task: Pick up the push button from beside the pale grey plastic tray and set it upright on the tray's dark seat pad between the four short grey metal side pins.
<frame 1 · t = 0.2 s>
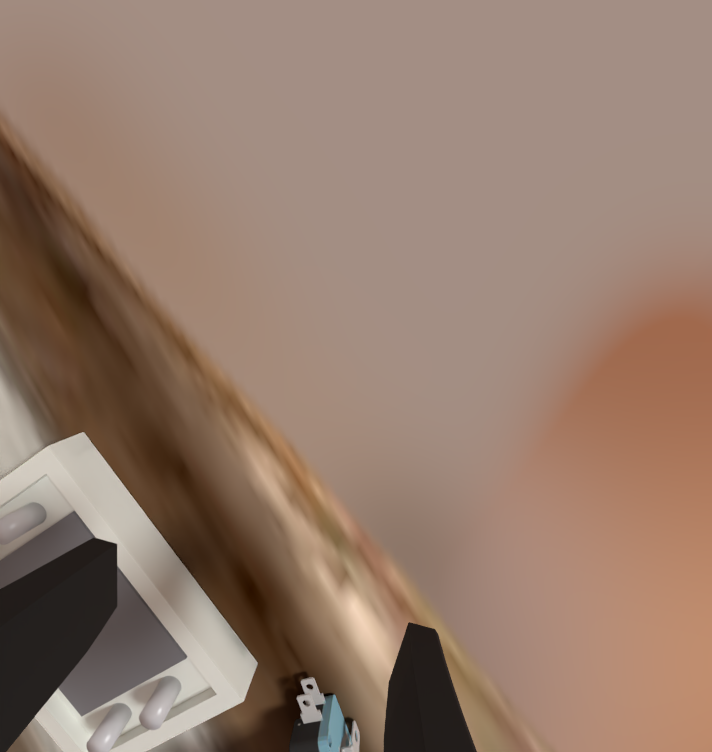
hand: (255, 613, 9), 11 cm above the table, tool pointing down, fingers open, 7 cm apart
push button: (329, 715, 23), on the table
pin tray: (100, 596, 22), on the table
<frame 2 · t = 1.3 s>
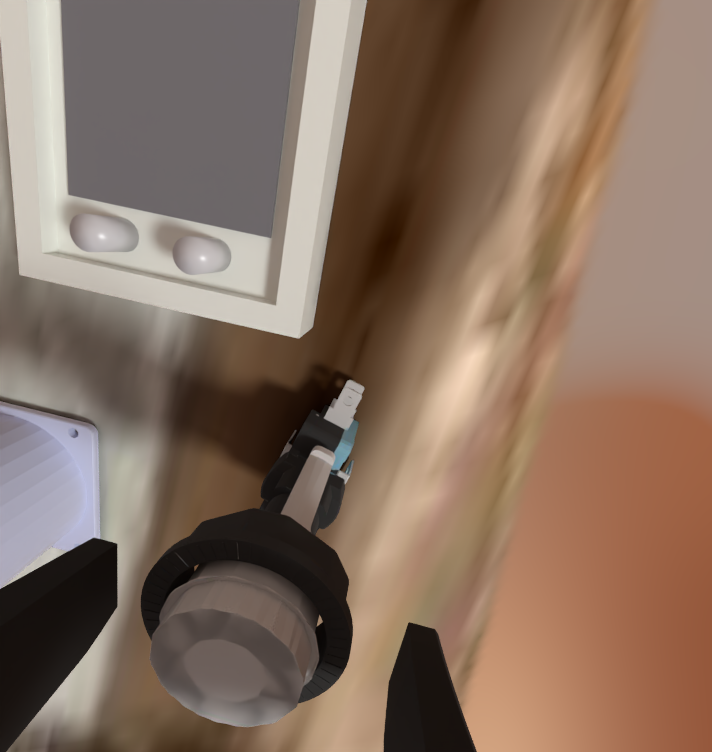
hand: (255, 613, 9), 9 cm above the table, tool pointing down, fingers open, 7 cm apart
push button: (327, 438, 18), on the table
pin tray: (200, 78, 14), on the table
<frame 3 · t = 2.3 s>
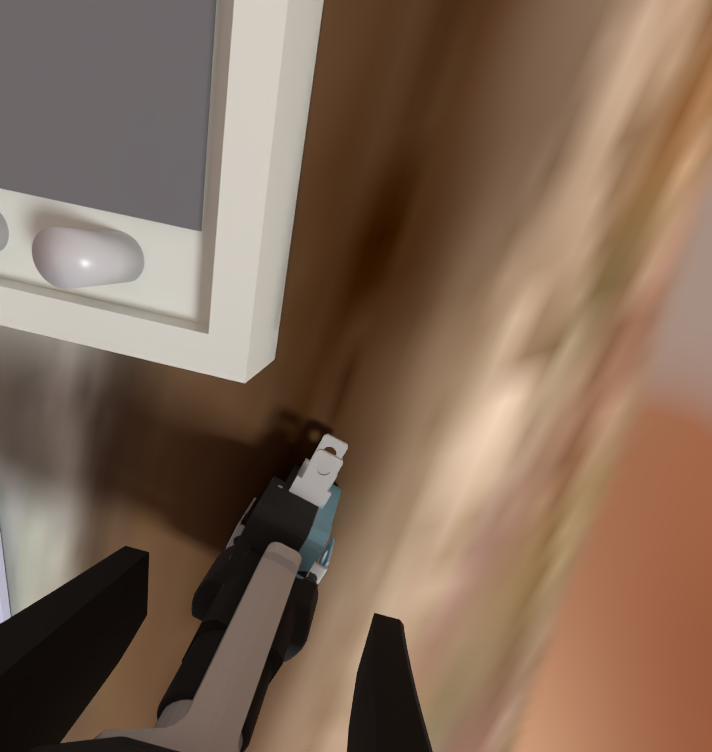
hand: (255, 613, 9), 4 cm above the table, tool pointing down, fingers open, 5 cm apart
push button: (300, 506, 13), on the table, touching gripper
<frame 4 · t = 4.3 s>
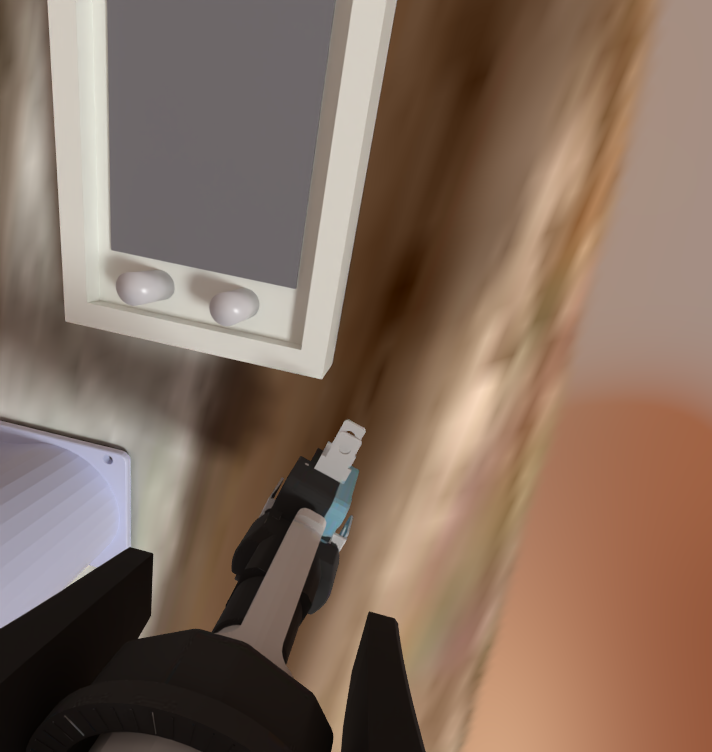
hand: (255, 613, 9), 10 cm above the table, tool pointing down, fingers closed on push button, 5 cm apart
push button: (322, 487, 15), point 4 cm above the table, touching gripper
pin tray: (230, 143, 15), on the table
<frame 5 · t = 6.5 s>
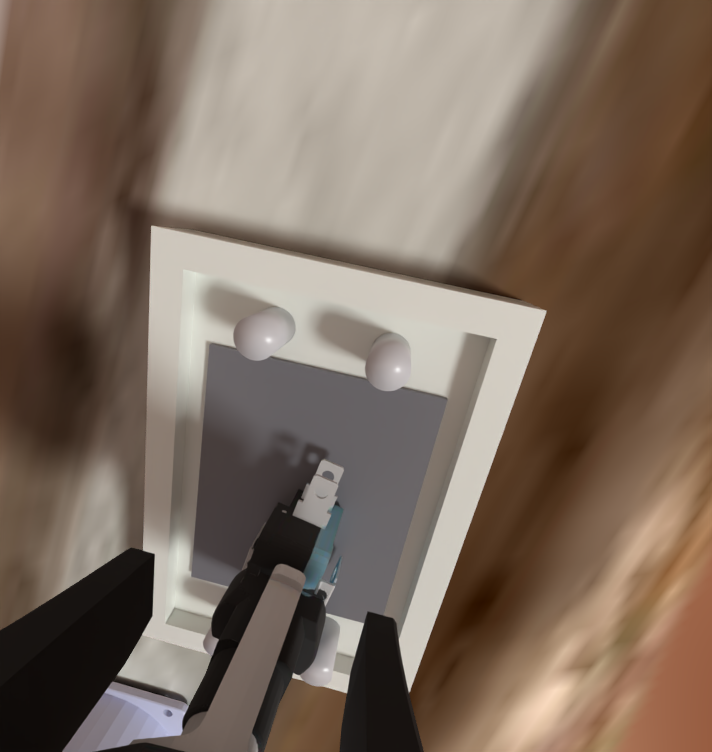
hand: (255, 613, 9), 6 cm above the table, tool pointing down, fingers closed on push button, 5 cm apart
push button: (308, 527, 14), point 2 cm above the table, touching gripper, pin tray
pin tray: (313, 473, 15), on the table
when the fingers open (6 cm above the table, at t = 7.3 s): push button stays where it is, resting on pin tray.
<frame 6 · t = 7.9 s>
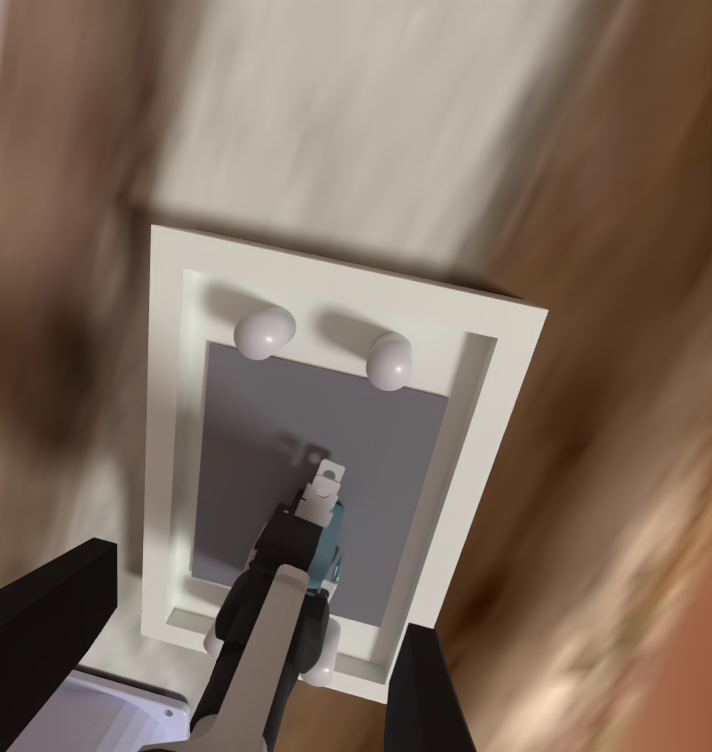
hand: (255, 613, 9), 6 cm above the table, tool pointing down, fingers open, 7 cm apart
push button: (309, 526, 14), point 2 cm above the table, touching pin tray
pin tray: (314, 473, 15), on the table
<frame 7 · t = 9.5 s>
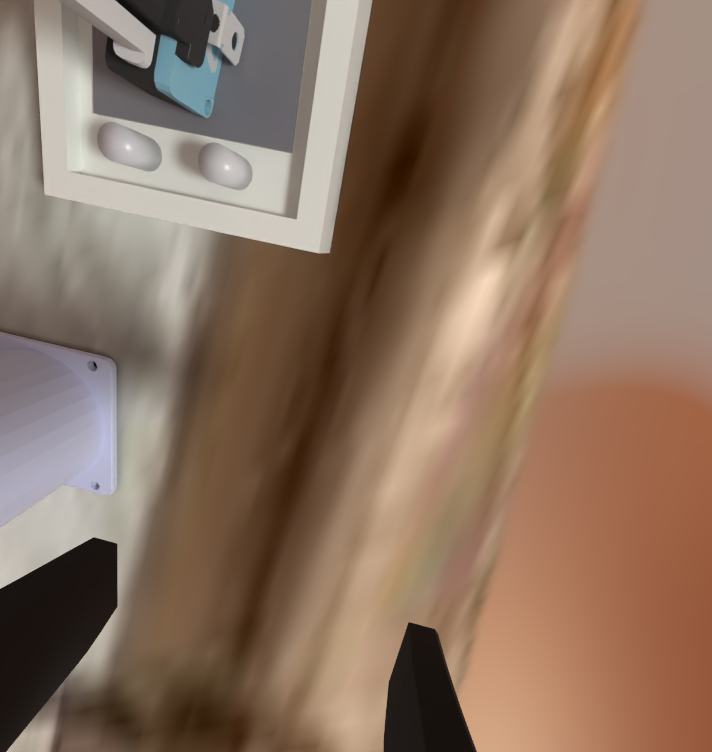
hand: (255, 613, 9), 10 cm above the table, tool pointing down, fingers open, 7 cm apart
push button: (209, 16, 13), point 2 cm above the table, touching pin tray
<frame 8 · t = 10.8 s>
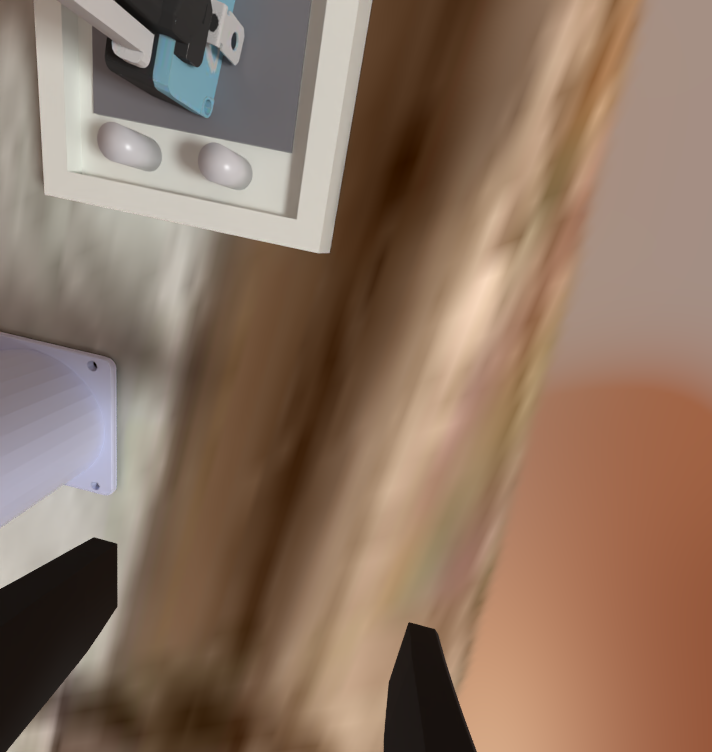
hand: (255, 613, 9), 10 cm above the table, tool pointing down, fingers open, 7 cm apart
push button: (210, 17, 13), point 2 cm above the table, touching pin tray
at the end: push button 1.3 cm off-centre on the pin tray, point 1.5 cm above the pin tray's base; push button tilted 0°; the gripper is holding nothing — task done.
